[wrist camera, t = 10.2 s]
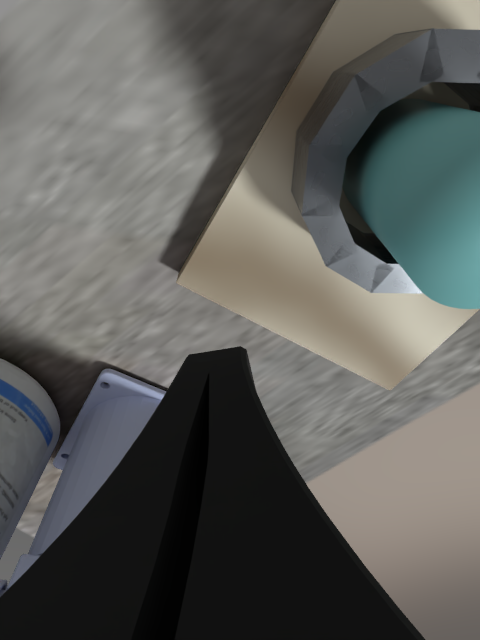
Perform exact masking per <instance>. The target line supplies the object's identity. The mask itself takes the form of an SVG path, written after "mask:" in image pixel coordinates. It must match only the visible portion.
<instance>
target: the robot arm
mask: <svg viewBox="0 0 480 640" xmlns="http://www.w3.org/2000/svg"><path fill="white" fill-rule="evenodd" d="M103 382H106V383H108V384H104V383H103ZM53 465H54V466H55V467H56V468H58V469H61V470H63V471H62V474H61V476H60V478H59V481H58V483H57V486H56V488H55V490H54V493H53V495H52V498H51V500H50V502H49V505H48V507H47V510H46V512H45V514H44V517H43V519H42V521H41V524H40V526H39V529H38V531H37V533H36V536H35V538H34V541H33V543H32V545H31V548H30V550H29V553H28V554H23V555H21V556H20V559H19V561H18V563H17V566H16V568H15V570H14V573H13V575H12V577H11V580H10V582H9V584H8V586H7V580H2V579H0V640H425V639H424V637H423V636H422V635H421V634H420V633H419V632H418V630H417V629H416V628H415V627H414V626H413V624H412V623H411V622H410V621H409V620H408V618H406V616H405V615H404V614H403V613H402V611H401V610H400V609H399V608H398V607H397V605H396V604H395V603H394V602H393V600H392V599H391V598H390V597H389V595H388V594H387V593H386V592H385V590H384V589H383V588H382V587H381V585H380V584H379V583H378V582H377V581H376V579H375V578H374V577H373V575H372V574H371V573H370V572H369V571H368V569H367V568H366V567H365V566H364V564H363V563H362V561H361V560H360V559H359V557H358V556H357V555H356V553H355V552H354V551H353V549H352V548H351V547H350V545H349V544H348V543H347V541H346V540H345V539H344V537H343V536H342V534H341V533H340V532H339V531H338V529H337V528H336V526H335V525H334V524H333V522H332V521H331V520H330V518H329V517H328V516H327V514H326V513H325V512H324V510H323V509H322V507H321V506H320V504H319V503H318V501H317V500H316V498H315V497H314V495H313V494H312V492H311V491H310V489H309V488H308V487H307V485H306V483H305V482H304V480H303V478H302V477H301V475H300V474H299V472H298V471H297V469H296V467H295V466H294V464H293V462H292V461H291V459H290V457H289V456H288V454H287V452H286V451H285V449H284V447H283V445H282V443H281V442H280V440H279V438H278V436H277V434H276V432H275V431H274V429H273V427H272V425H271V423H270V421H269V419H268V417H267V415H266V412H265V410H264V408H263V406H262V404H261V401H260V399H259V397H258V395H257V392H256V389H255V385H254V380H253V376H252V372H251V367H250V363H249V359H248V354H247V350H246V349H244V348H242V347H234V348H228V349H222V350H216V351H209V352H203V353H197V354H190V355H188V357H187V358H186V359H185V361H184V363H183V364H182V366H181V368H180V370H179V371H178V373H177V375H176V377H175V378H174V380H173V382H172V383H171V385H170V387H169V389H168V390H167V392H166V391H164V390H161V389H159V388H157V387H154V386H152V385H149V384H147V383H144V382H142V381H140V380H137V379H135V378H132V377H130V376H127V375H125V374H123V373H120V372H118V371H115V370H113V369H104V370H103V371H102V372H101V373H100V375H99V377H98V379H97V381H96V382H95V384H94V386H93V388H92V390H91V392H90V393H89V395H88V397H87V399H86V401H85V403H84V405H83V406H82V408H81V410H80V412H79V414H78V416H77V418H76V419H75V421H74V423H73V425H72V427H71V429H70V431H69V432H68V434H67V436H66V438H65V440H64V442H63V444H62V445H61V447H60V449H59V451H58V453H57V455H56V456H55V458H54V461H53ZM6 588H7V589H6Z"/></svg>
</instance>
